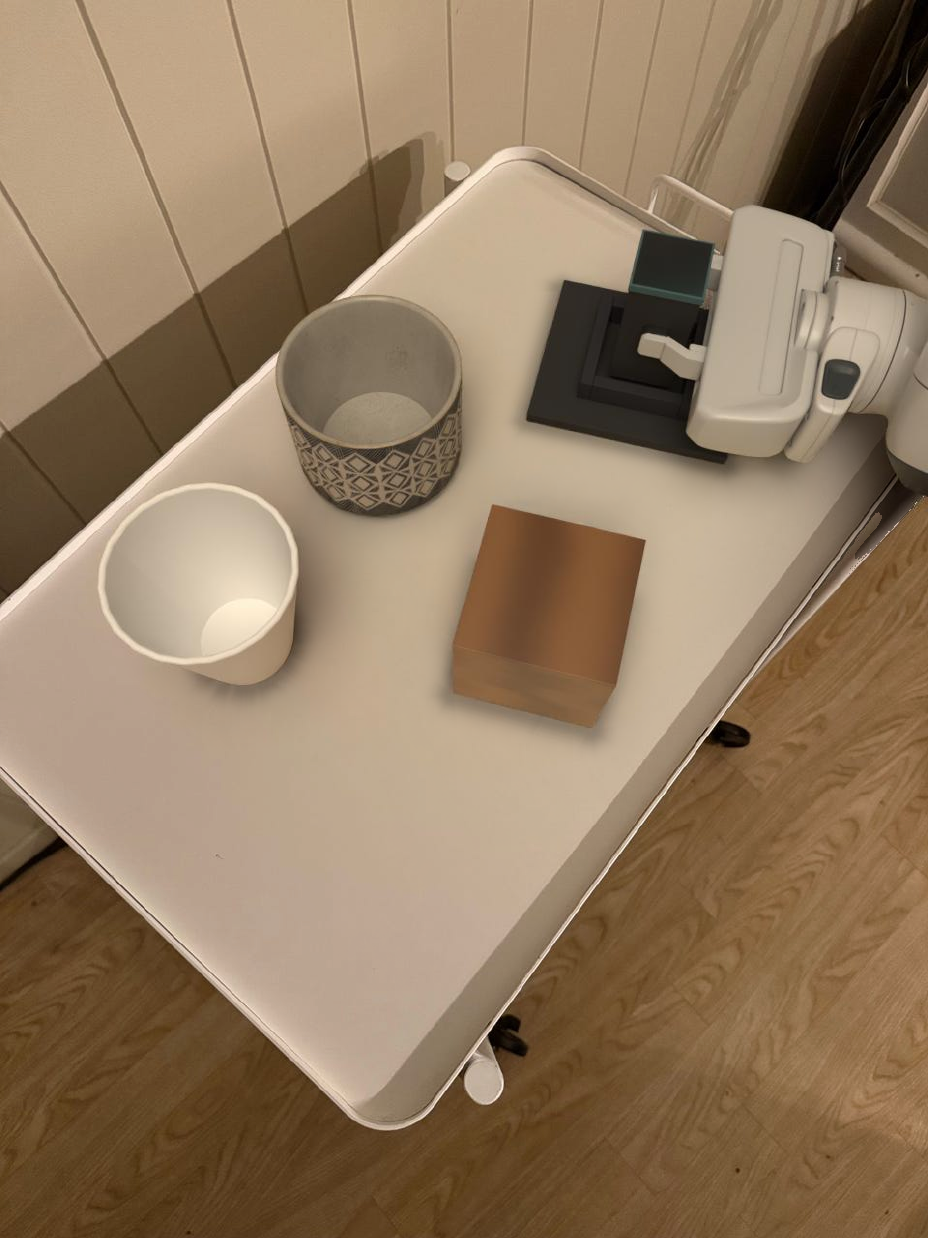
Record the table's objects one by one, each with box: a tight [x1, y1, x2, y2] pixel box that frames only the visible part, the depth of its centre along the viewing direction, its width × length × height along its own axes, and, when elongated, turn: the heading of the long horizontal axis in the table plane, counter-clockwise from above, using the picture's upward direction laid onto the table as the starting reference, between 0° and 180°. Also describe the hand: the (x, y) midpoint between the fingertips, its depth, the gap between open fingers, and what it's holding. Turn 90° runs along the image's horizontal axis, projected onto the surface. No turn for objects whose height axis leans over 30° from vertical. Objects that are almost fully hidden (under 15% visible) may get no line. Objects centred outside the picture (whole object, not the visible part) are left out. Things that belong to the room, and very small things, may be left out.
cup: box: [97, 481, 300, 686], centre depth 57 cm, size 12×12×12 cm
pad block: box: [609, 229, 716, 388], centre depth 65 cm, size 5×5×10 cm
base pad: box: [525, 279, 729, 465], centre depth 70 cm, size 16×14×3 cm
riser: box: [452, 503, 647, 729], centre depth 58 cm, size 10×10×10 cm
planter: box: [274, 294, 463, 516], centre depth 64 cm, size 13×13×10 cm
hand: (647, 304), depth 64 cm, fingers closed on pad block, 5 cm apart
